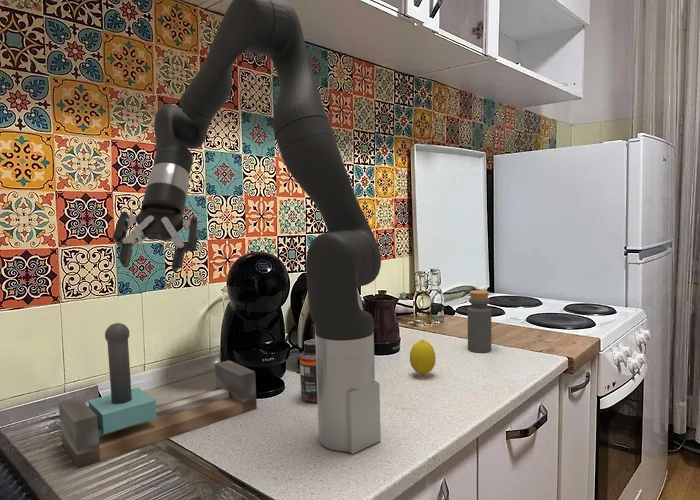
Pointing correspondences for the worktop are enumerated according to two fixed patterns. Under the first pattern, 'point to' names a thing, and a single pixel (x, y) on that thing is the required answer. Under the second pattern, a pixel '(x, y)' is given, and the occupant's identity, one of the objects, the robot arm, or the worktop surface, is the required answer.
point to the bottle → (479, 322)
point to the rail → (172, 417)
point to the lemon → (422, 357)
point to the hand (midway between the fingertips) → (149, 267)
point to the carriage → (121, 388)
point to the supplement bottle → (308, 371)
